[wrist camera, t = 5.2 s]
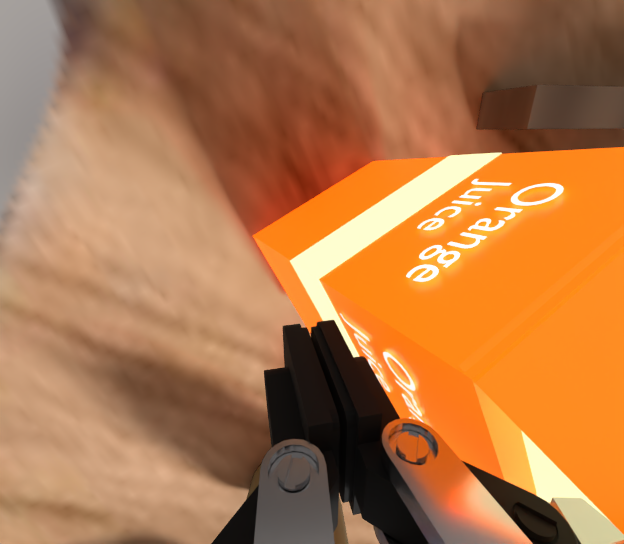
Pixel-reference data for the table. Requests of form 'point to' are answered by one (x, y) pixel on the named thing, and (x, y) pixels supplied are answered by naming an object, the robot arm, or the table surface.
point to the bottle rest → (553, 108)
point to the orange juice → (481, 305)
